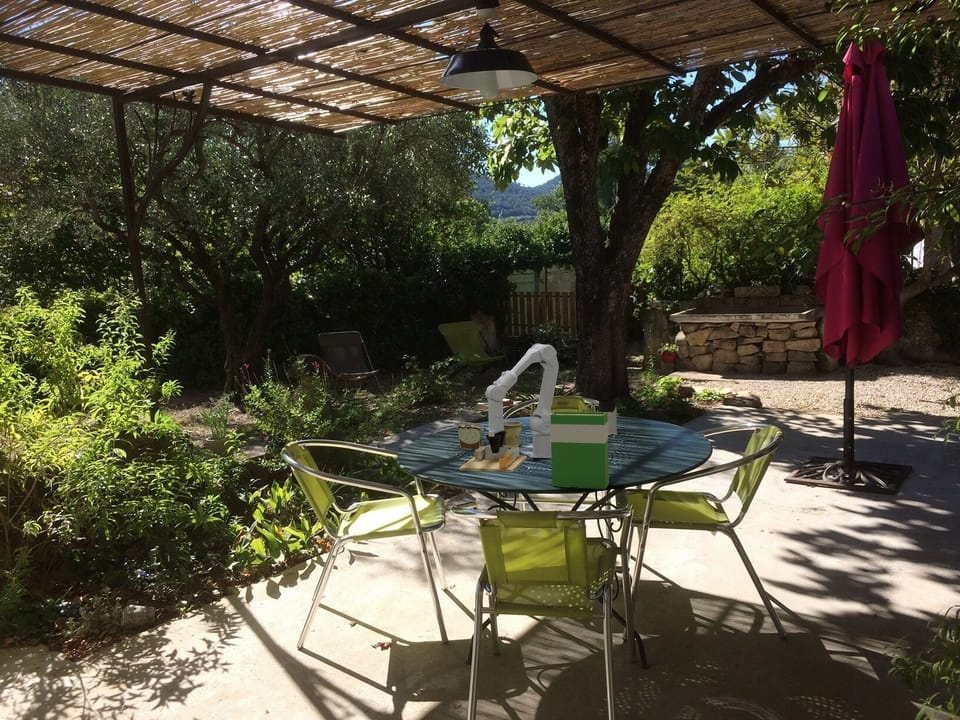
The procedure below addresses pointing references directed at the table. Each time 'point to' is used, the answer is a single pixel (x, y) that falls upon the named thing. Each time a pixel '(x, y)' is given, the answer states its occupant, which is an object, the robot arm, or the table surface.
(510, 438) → the ceramic cup
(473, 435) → the food container
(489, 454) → the steel block
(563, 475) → the green box
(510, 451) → the block
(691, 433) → the table surface
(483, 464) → the base
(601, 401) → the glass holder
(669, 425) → the table surface
